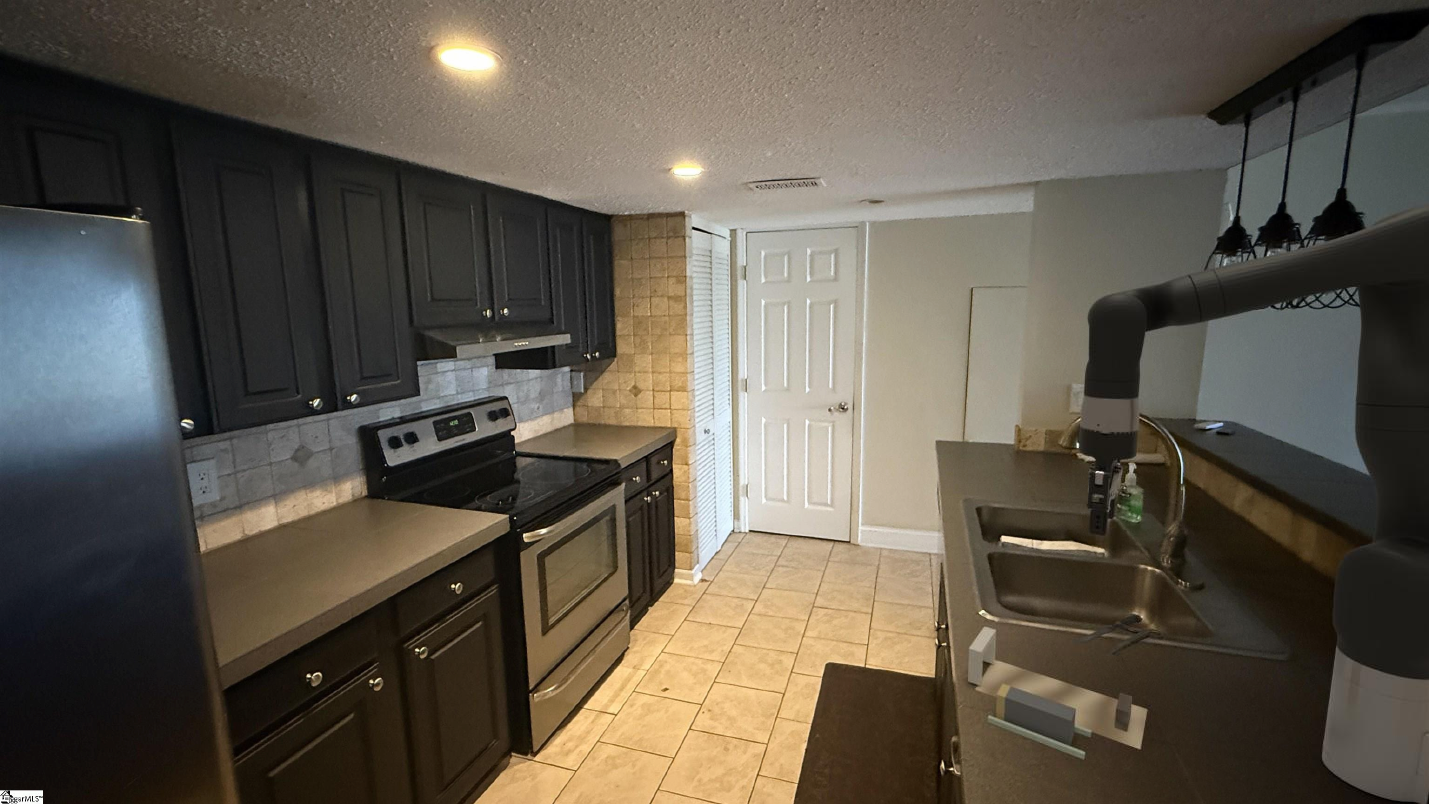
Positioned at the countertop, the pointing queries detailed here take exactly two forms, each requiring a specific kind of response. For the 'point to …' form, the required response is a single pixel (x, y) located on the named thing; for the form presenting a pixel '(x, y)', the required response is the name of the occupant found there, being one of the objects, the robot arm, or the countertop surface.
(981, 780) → the countertop surface
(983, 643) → the strap
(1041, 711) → the long gray brick
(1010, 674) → the flat beige board
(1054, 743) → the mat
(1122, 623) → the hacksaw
